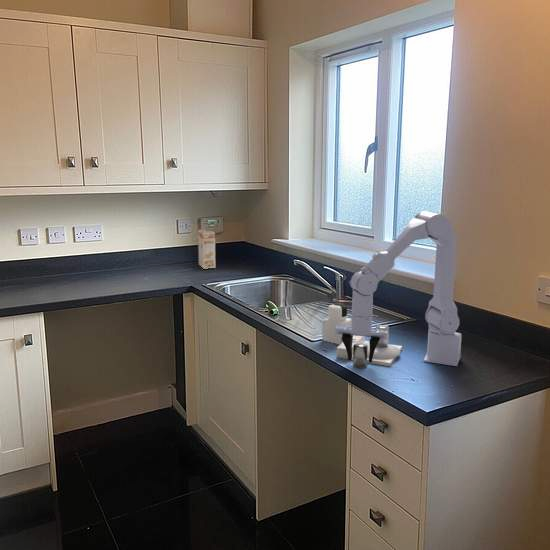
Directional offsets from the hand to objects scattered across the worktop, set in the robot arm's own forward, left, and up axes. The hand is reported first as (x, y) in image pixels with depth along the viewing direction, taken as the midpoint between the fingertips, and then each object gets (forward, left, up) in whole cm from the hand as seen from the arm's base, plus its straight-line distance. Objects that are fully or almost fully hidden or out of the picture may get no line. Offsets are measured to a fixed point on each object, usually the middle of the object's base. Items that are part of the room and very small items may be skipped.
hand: (360, 360), depth 161 cm
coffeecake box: (+114, -104, -2) cm, 155 cm away
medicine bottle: (+13, -18, -2) cm, 23 cm away
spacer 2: (-2, -15, 0) cm, 15 cm away
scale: (0, -11, -2) cm, 11 cm away
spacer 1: (0, 0, -2) cm, 2 cm away
